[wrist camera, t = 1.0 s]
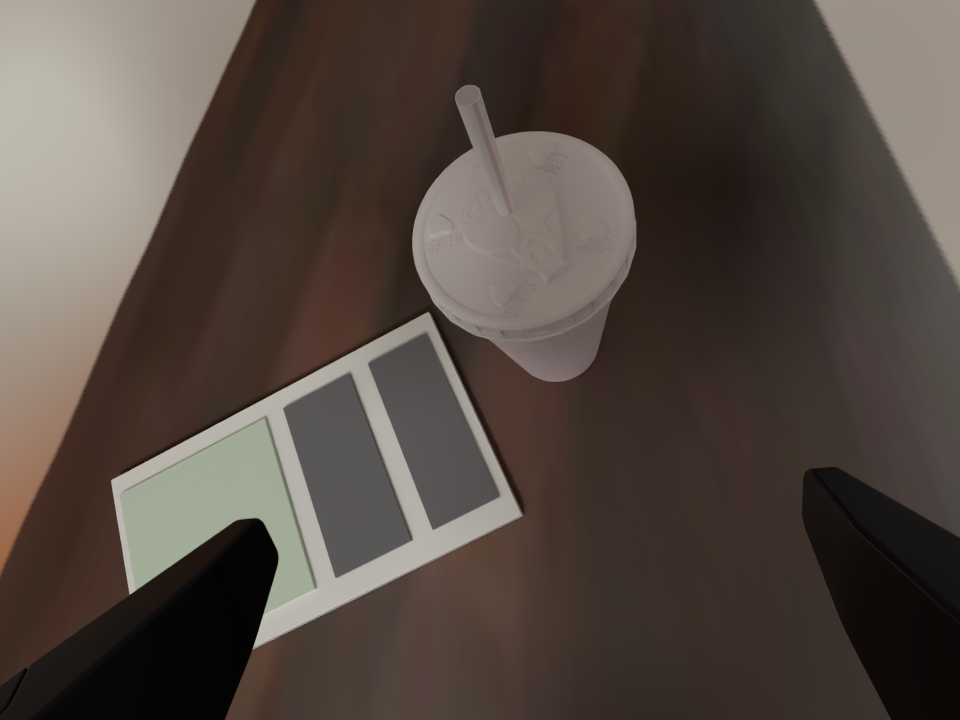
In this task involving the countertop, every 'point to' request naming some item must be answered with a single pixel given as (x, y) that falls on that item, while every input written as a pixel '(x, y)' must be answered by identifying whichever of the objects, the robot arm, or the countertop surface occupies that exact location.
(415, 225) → the smoothie
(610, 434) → the countertop surface
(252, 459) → the board
